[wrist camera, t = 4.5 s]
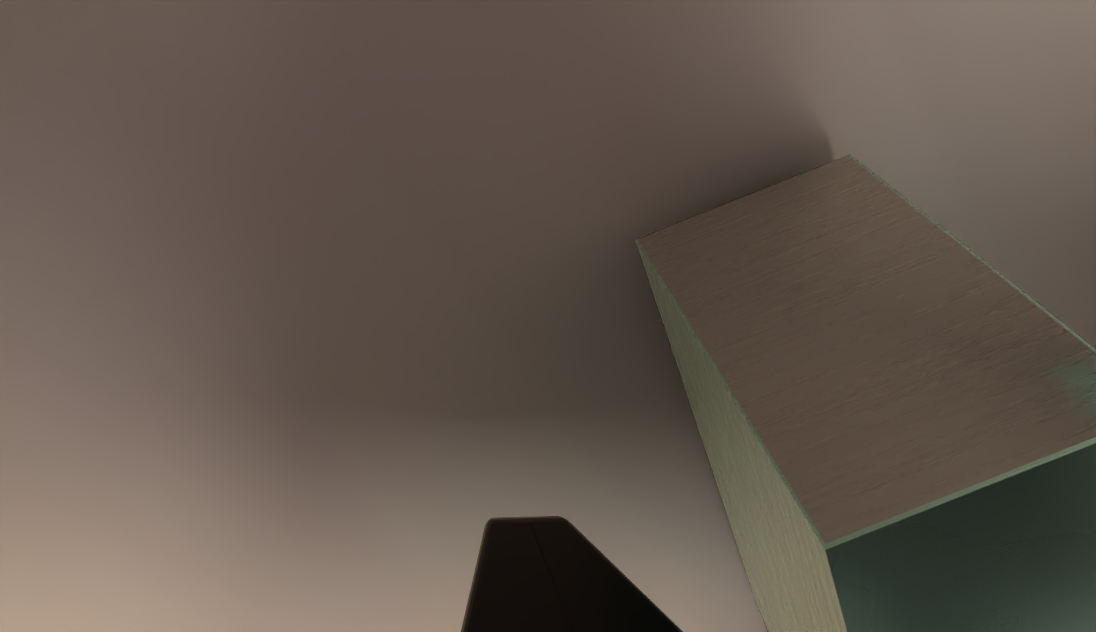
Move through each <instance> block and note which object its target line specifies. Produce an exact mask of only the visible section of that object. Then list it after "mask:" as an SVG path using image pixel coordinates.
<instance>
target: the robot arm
mask: <svg viewBox="0 0 1096 632" xmlns="http://www.w3.org/2000/svg"><path fill="white" fill-rule="evenodd" d="M461 632H683V631H682V630H681V629H680V628H679V627H678V626H676V625H675V624H674V623H673V622H672V621H671V620H670V619H669V618H668V617H667V616H666V615H665V614H664V613H663V612H662V611H661V610H660V609H659V608H658V607H657V606H656V605H655V604H654V603H653V602H652V601H651V600H650V599H649V598H648V597H647V596H646V595H644V594H643V593H642V592H641V591H640V590H639V589H638V588H637V587H636V586H635V585H634V584H633V583H632V582H631V581H630V580H629V579H628V578H627V577H626V576H625V575H624V574H623V573H622V572H621V571H620V570H619V569H618V568H617V567H616V566H615V565H614V564H612V563H611V562H610V561H609V560H608V559H607V558H606V557H605V556H604V555H603V554H602V553H601V552H600V551H599V550H598V549H597V548H596V547H595V546H594V545H593V544H592V543H591V542H590V541H589V540H588V539H587V538H586V537H585V536H584V535H583V534H582V533H580V532H579V531H578V530H577V529H576V528H575V527H574V526H573V525H572V524H571V523H570V522H569V521H568V520H566V519H565V518H563V517H559V516H541V517H505V518H491V519H490V520H488V521H487V523H486V525H485V529H484V533H483V538H482V542H481V546H480V551H479V555H478V559H477V564H476V568H475V572H474V577H473V581H472V585H471V590H470V594H469V599H468V603H467V607H466V612H465V616H464V620H463V625H462V629H461Z"/></svg>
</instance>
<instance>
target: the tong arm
mask: <svg viewBox="0 0 1096 632" xmlns="http://www.w3.org/2000/svg"><path fill="white" fill-rule="evenodd" d="M635 241H636V244H637V247H638V250H639V253H640V256H641V259H642V262H643V265H644V268H645V271H646V274H647V277H648V280H649V283H650V286H651V289H652V292H653V295H654V297H655V300H656V303H657V306H658V309H659V312H660V315H661V318H662V321H663V324H664V327H665V330H666V333H667V336H668V339H669V342H670V345H671V348H672V351H673V354H674V357H675V360H676V363H677V366H678V369H679V372H680V375H681V378H682V381H683V384H684V387H685V390H686V393H687V396H688V399H689V402H690V405H691V408H692V411H693V414H694V417H695V420H696V423H697V426H698V429H699V432H700V435H701V438H702V441H703V444H704V447H705V450H706V453H707V456H708V459H709V462H710V465H711V468H712V471H713V474H714V477H715V480H716V483H717V486H718V489H719V492H720V495H721V498H722V501H723V504H724V507H725V510H726V513H727V516H728V519H729V522H730V525H731V528H732V531H733V534H734V537H735V540H736V543H737V546H738V549H739V552H740V555H741V558H742V561H743V564H744V567H745V570H746V573H747V576H748V579H749V582H750V585H751V588H752V591H753V594H754V597H755V600H756V603H757V606H758V608H759V610H760V612H761V614H762V616H763V619H764V622H765V625H766V628H767V631H768V632H1096V349H1095V348H1094V347H1092V346H1091V345H1090V344H1089V343H1087V342H1086V341H1085V340H1084V339H1082V338H1081V337H1080V336H1079V335H1077V334H1076V333H1075V332H1074V331H1072V330H1071V329H1070V328H1068V327H1067V326H1066V325H1065V324H1063V323H1062V322H1061V321H1060V320H1058V319H1057V318H1056V317H1055V316H1053V315H1052V314H1051V313H1050V312H1048V311H1047V310H1046V309H1045V308H1043V307H1042V306H1041V305H1039V304H1038V303H1037V302H1036V301H1034V300H1033V299H1032V298H1031V297H1029V296H1028V295H1027V294H1026V293H1024V292H1023V291H1022V290H1021V289H1019V288H1018V287H1017V286H1015V285H1014V284H1013V283H1012V282H1010V281H1009V280H1008V279H1007V278H1005V277H1004V276H1003V275H1002V274H1000V273H999V272H998V271H997V270H995V269H994V268H993V267H991V266H990V265H989V264H988V263H986V262H985V261H984V260H983V259H981V258H980V257H979V256H978V255H976V254H975V253H974V252H973V251H971V250H970V249H969V248H968V247H966V246H965V245H964V244H962V243H961V242H960V241H959V240H957V239H956V238H955V237H954V236H952V235H951V234H950V233H949V232H947V231H946V230H945V229H944V228H942V227H941V226H940V225H938V224H937V223H936V222H935V221H933V220H932V219H931V218H930V217H928V216H927V215H926V214H925V213H923V212H922V211H921V210H920V209H918V208H917V207H916V206H915V205H913V204H912V203H911V202H909V201H908V200H907V199H906V198H904V197H903V196H902V195H901V194H899V193H898V192H897V191H896V190H894V189H893V188H892V187H891V186H889V185H888V184H887V183H885V182H884V181H883V180H882V179H880V178H879V177H878V176H877V175H875V174H874V173H873V172H872V171H870V170H869V169H868V168H867V167H865V166H864V165H863V164H861V163H860V162H859V161H858V160H856V159H855V158H854V157H853V156H851V155H847V156H845V157H842V158H840V159H837V160H835V161H832V162H830V163H827V164H825V165H822V166H820V167H817V168H815V169H812V170H810V171H807V172H805V173H802V174H800V175H797V176H795V177H792V178H789V179H787V180H784V181H782V182H779V183H777V184H774V185H772V186H769V187H767V188H764V189H762V190H759V191H757V192H754V193H752V194H749V195H747V196H744V197H742V198H739V199H737V200H734V201H732V202H729V203H727V204H724V205H722V206H719V207H717V208H714V209H712V210H709V211H707V212H704V213H702V214H699V215H697V216H694V217H692V218H689V219H687V220H684V221H682V222H679V223H677V224H674V225H672V226H669V227H667V228H664V229H662V230H659V231H657V232H654V233H652V234H649V235H647V236H644V237H642V238H639V239H637V240H635Z"/></svg>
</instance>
